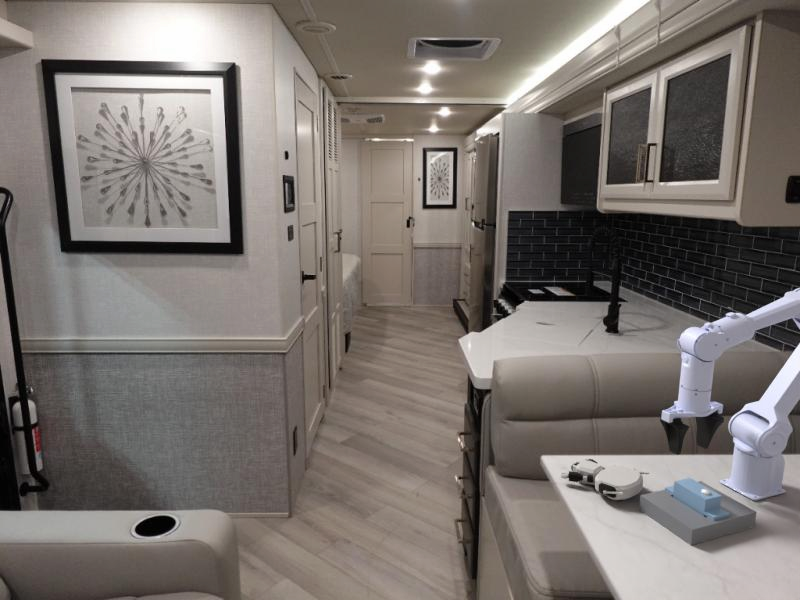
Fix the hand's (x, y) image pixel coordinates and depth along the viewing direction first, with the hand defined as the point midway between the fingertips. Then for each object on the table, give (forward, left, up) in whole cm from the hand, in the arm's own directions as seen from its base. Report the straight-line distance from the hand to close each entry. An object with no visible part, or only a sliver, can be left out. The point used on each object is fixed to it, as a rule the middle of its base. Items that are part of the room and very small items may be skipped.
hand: (688, 449), depth 111 cm
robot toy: (+15, -7, -10) cm, 19 cm away
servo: (+6, +8, -9) cm, 13 cm away
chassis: (+6, +8, -9) cm, 14 cm away
